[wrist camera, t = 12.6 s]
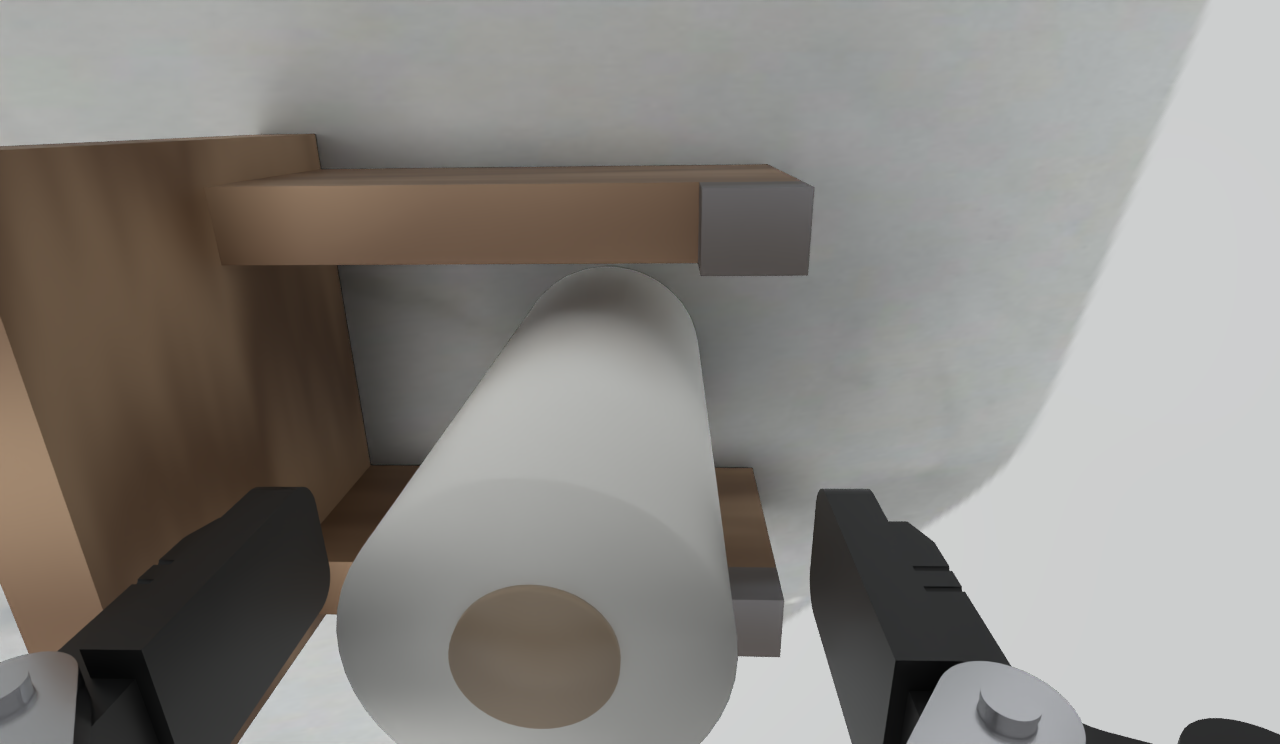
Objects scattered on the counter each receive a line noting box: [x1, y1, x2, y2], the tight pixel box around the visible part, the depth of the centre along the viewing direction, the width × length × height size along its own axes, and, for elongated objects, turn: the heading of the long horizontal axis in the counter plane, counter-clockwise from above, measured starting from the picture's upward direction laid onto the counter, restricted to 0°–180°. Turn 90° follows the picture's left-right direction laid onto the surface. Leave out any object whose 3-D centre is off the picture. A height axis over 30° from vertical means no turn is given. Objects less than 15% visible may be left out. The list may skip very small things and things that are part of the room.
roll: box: [336, 266, 738, 744], centre depth 14 cm, size 5×5×12 cm
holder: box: [0, 134, 814, 744], centre depth 16 cm, size 12×14×10 cm
